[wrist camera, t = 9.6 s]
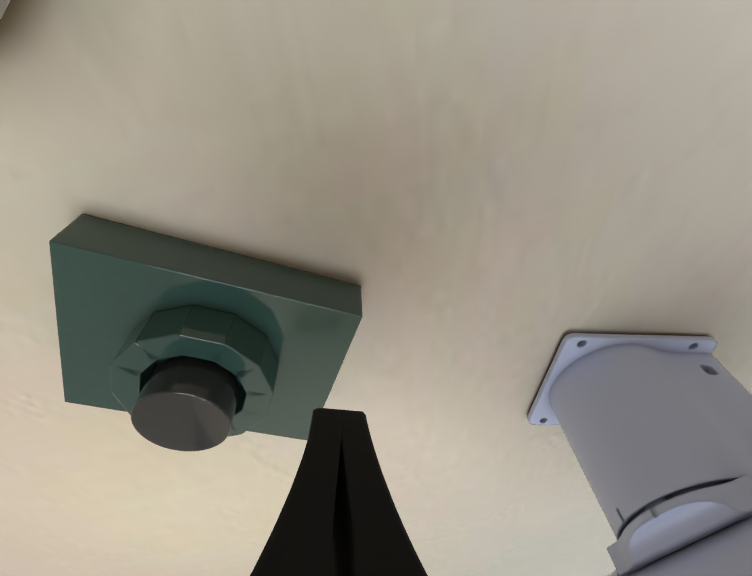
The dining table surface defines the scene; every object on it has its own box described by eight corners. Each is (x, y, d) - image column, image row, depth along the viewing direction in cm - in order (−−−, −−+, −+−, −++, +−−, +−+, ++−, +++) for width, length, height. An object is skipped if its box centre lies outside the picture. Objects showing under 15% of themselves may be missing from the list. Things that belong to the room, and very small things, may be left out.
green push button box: (361, 285, 21) (364, 345, 18) (311, 406, 27) (306, 472, 23) (81, 213, 18) (14, 268, 15) (88, 367, 23) (41, 435, 20)
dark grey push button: (247, 365, 18) (237, 402, 17) (233, 420, 21) (223, 457, 19) (151, 347, 18) (130, 384, 16) (147, 406, 20) (129, 444, 18)
